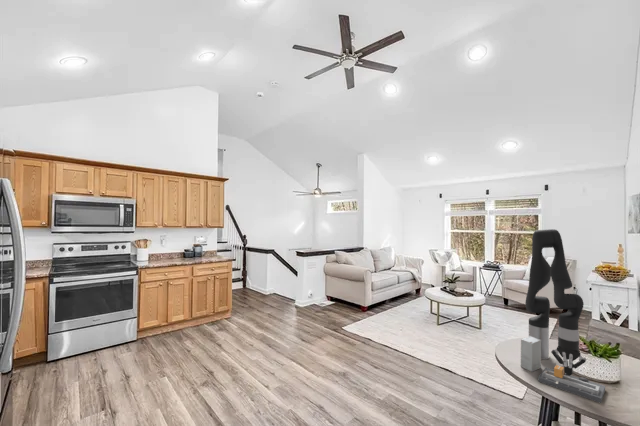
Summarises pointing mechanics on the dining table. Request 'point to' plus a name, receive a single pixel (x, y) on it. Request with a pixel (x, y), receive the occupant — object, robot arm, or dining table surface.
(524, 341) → the skincare box
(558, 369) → the fader knob
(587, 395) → the console
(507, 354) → the dining table surface
